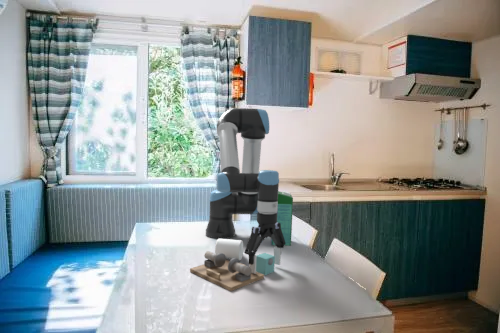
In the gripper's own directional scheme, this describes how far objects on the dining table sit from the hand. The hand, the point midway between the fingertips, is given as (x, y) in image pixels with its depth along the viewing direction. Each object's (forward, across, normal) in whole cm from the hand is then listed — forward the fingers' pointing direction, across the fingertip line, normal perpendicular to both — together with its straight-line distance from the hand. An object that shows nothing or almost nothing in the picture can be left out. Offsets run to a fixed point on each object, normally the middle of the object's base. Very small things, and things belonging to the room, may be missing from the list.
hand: (265, 268), depth 130 cm
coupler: (+1, 0, 0) cm, 1 cm away
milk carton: (+1, +33, +19) cm, 38 cm away
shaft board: (+1, -13, +7) cm, 15 cm away
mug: (+1, +1, +20) cm, 20 cm away
